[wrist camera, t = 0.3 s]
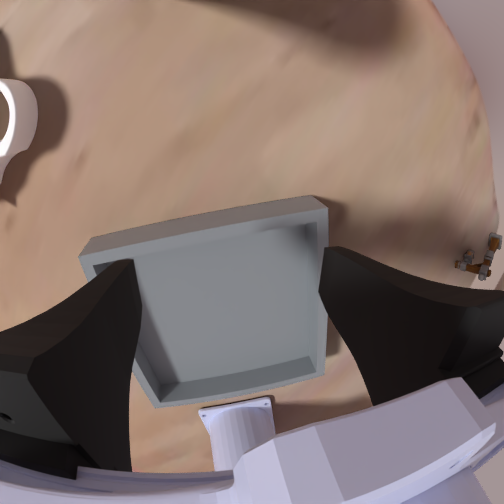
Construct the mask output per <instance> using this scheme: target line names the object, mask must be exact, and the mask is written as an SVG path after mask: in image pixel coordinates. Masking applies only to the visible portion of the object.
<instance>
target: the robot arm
mask: <svg viewBox="0 0 504 504" xmlns="http://www.w3.org/2000/svg"><path fill="white" fill-rule="evenodd" d="M318 293H319V295H320V298H321V300H322V303H323V305H324V308H325V310H326V312H327V314H328V315H329V317H330V319H331V320H332V322H333V324H334V325H335V327H336V329H337V330H338V332H339V333H340V335H341V337H342V338H343V340H344V342H345V343H346V345H347V346H348V348H349V350H350V351H351V353H352V355H353V357H354V359H355V361H356V363H357V365H358V368H359V370H360V372H361V375H362V377H363V379H364V382H365V385H366V387H367V390H368V392H369V395H370V398H371V401H372V404H373V407H370V408H367V409H363V410H360V411H357V412H353V413H350V414H346V415H343V416H339V417H335V418H331V419H327V420H323V421H319V422H315V423H310V424H308V425H305V426H302V427H299V428H295V429H292V430H289V431H286V432H283V433H279V434H276V435H275V427H274V420H273V413H272V406H271V400H270V398H269V397H262V398H258V399H253V400H248V401H243V402H238V403H233V404H228V405H222V406H216V407H210V408H203V409H200V410H199V415H200V417H201V419H202V421H203V423H204V425H205V427H206V429H207V431H208V432H209V434H210V439H211V446H212V454H213V461H214V468H215V471H212V472H196V473H140V472H132V466H131V457H130V441H129V391H130V380H131V373H132V368H133V362H134V357H135V353H136V348H137V343H138V338H139V333H140V329H141V319H142V301H141V296H140V291H139V286H138V281H137V275H136V270H135V264H134V259H125V260H117V261H115V262H114V263H112V264H111V265H110V266H108V267H107V268H106V269H105V270H103V271H102V272H101V273H100V274H98V275H97V276H96V277H95V278H93V279H92V280H91V281H90V282H88V283H87V284H86V285H84V286H83V287H82V288H80V289H79V290H78V291H76V292H75V293H74V294H72V295H71V296H70V297H68V298H67V299H65V300H64V301H62V302H61V303H59V304H57V305H56V306H54V307H52V308H51V309H49V310H47V311H46V312H44V313H42V314H40V315H38V316H36V317H34V318H32V319H30V320H28V321H26V322H24V323H21V324H19V325H17V326H14V327H12V328H9V329H7V330H4V331H1V332H0V504H492V503H491V502H490V500H489V498H488V496H487V495H486V493H485V491H484V490H483V488H482V486H481V484H480V483H479V481H478V479H477V478H476V476H475V474H474V473H473V472H475V471H476V470H477V469H478V468H480V467H481V466H482V465H483V464H485V463H486V462H487V461H488V460H490V459H491V458H492V457H493V456H494V455H495V454H497V453H498V452H499V451H500V450H501V449H502V448H504V362H503V360H502V359H501V358H500V357H502V355H503V351H502V350H501V349H500V348H499V345H500V343H501V341H502V339H503V338H504V291H501V290H483V289H471V288H464V287H457V286H452V285H447V284H442V283H438V282H434V281H430V280H426V279H423V278H420V277H417V276H413V275H410V274H407V273H405V272H402V271H399V270H397V269H394V268H392V267H389V266H387V265H384V264H382V263H380V262H377V261H375V260H373V259H370V258H368V257H366V256H364V255H361V254H359V253H357V252H354V251H351V250H349V249H346V248H343V247H339V246H338V247H324V255H323V262H322V269H321V276H320V283H319V289H318Z"/></svg>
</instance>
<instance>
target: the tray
mask: <svg viewBox="0 0 504 504" xmlns="http://www.w3.org/2000/svg"><path fill="white" fill-rule="evenodd" d="M324 247H329V229H328V207H326V206H325V205H324V204H322V203H321V202H320V201H318V200H317V199H316V198H314V197H313V196H312V195H308V196H301V197H295V198H288V199H282V200H276V201H270V202H264V203H258V204H252V205H247V206H241V207H235V208H230V209H225V210H219V211H214V212H209V213H203V214H198V215H193V216H188V217H183V218H178V219H173V220H169V221H164V222H159V223H154V224H150V225H145V226H141V227H136V228H132V229H127V230H123V231H118V232H114V233H110V234H106V235H101V236H97V237H93V238H91V239H90V241H89V242H88V243H87V245H86V246H85V247H84V249H83V250H82V252H81V253H80V255H79V256H78V258H79V260H80V263H81V266H82V268H83V271H84V273H85V276H86V278H87V280H88V282H90V281H91V280H92V279H93V278H95V277H96V276H97V275H98V274H100V273H101V272H102V271H103V270H105V269H106V268H107V267H108V266H110V265H111V264H112V263H114V262H115V261H117V260H125V259H134V264H135V270H136V275H137V281H138V286H139V291H140V296H141V301H142V319H141V329H140V333H139V338H138V343H137V348H136V353H135V357H134V362H133V368H132V372H133V373H134V375H135V377H136V379H137V380H138V382H139V384H140V385H141V387H142V389H143V390H144V392H145V393H146V395H147V397H148V398H149V400H150V401H151V403H152V404H153V406H154V408H163V407H172V406H180V405H188V404H195V403H202V402H208V401H214V400H220V399H226V398H231V397H236V396H242V395H247V394H251V393H256V392H261V391H265V390H269V389H274V388H278V387H282V386H286V385H290V384H294V383H298V382H301V381H305V380H309V379H312V378H316V377H319V376H322V375H324V371H325V357H326V340H327V319H328V314H327V312H326V310H325V308H324V305H323V303H322V300H321V298H320V295H319V293H318V289H319V283H320V276H321V269H322V262H323V255H324Z"/></svg>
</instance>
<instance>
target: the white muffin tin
mask: <svg viewBox="0 0 504 504" xmlns="http://www.w3.org/2000/svg"><path fill="white" fill-rule="evenodd" d="M0 92H2V93H3V95H4V97H5V98H6V100H7V102H8V105H9V110H10V120H9V126H8V129H7V132H6V134H5V136H4V138H3V140H2V141H1V140H0V184H1V182H2V177H3V173H4V170H5V168H6V166H7V164H8V162H9V161H10V160H11V159H12V158H13V157H14V156H15V155H16V154H17V153H19V152H21V151H24V150H27V149H28V147H29V146H30V144H31V142H32V140H33V137H34V135H35V131H36V127H37V122H38V106H37V101H36V98H35V95H34V93H33V91H32V89H31V88H30V87H29V86H28V85H27V84H26V83H24V82H22V81H19V80H12V79H1V78H0Z"/></svg>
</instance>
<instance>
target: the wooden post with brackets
mask: <svg viewBox="0 0 504 504" xmlns="http://www.w3.org/2000/svg"><path fill="white" fill-rule="evenodd" d="M501 244H502V236H501V235H497V234H494V233H491V234H490V237H489V249H488V250H487V252H486V254H485V256H484V262H483V263H480V264H474V265H470V264H472V259H474V251H472V250H468V251H467V254H464V262H463V261H462V262H461V261H460V262H459V261H456V262H455V268H458V269H460V270H462V271H469V272H472V273H476V274H479V276H478V278H479V280H481V281H482V280H486V277H489V276H490V275H491V270H489V267H490V266H491V263H492V260H493V256H494V253H495V251H496V249H499V250H500V249H501Z"/></svg>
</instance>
